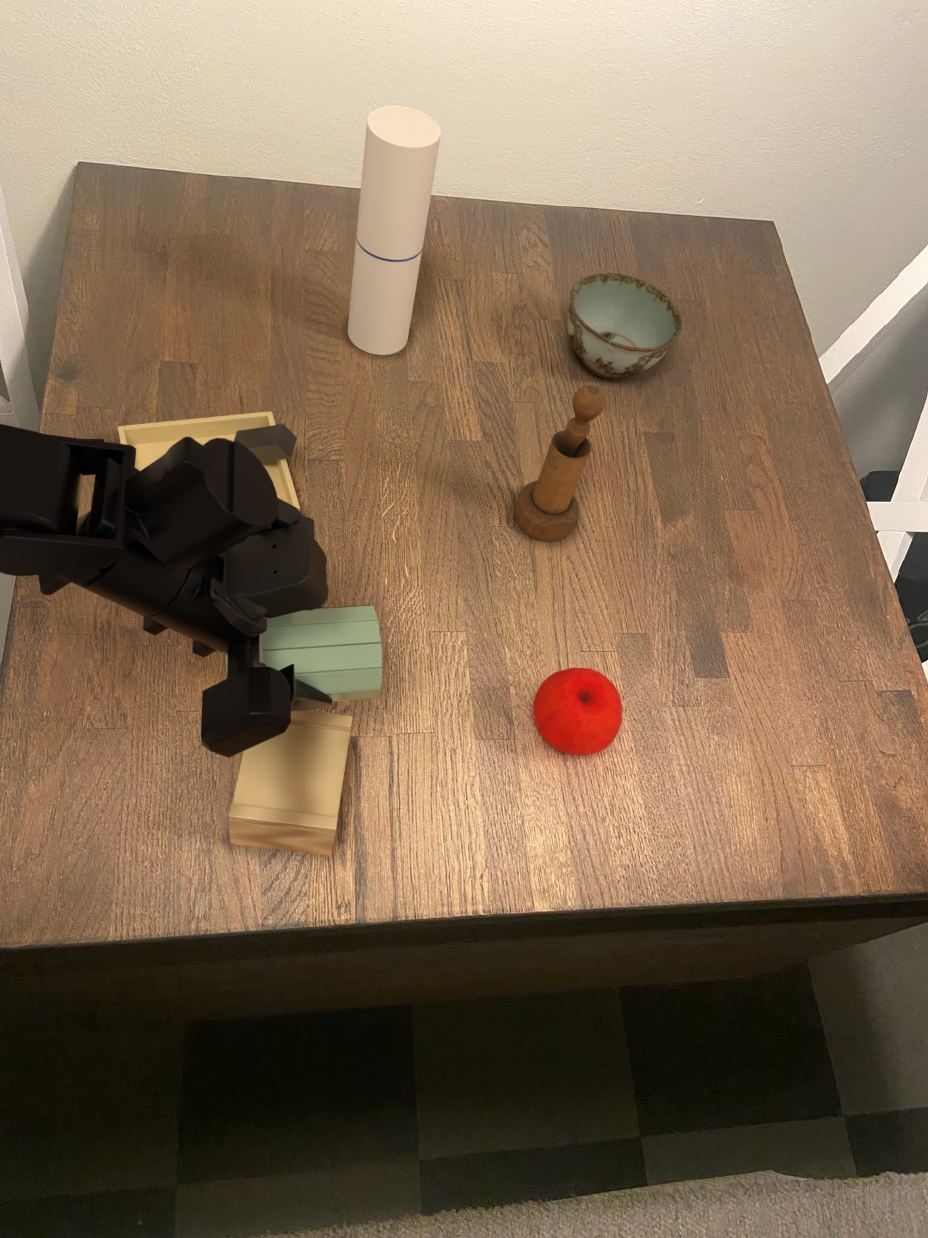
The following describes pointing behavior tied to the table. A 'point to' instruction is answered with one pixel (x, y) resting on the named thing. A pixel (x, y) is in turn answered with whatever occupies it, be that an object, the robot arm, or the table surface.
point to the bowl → (620, 324)
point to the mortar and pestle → (560, 474)
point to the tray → (162, 435)
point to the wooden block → (292, 786)
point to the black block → (268, 442)
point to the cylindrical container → (391, 225)
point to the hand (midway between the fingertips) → (326, 661)
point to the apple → (578, 711)
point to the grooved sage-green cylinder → (328, 649)
